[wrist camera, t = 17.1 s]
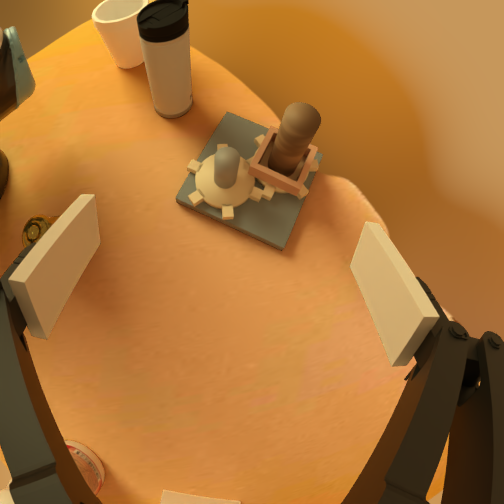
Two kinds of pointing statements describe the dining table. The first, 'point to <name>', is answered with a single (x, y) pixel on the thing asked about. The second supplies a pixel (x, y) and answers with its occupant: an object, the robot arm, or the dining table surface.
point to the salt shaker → (36, 228)
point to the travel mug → (167, 55)
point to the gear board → (247, 182)
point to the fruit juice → (85, 461)
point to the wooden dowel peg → (293, 137)
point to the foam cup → (120, 30)
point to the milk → (191, 499)
